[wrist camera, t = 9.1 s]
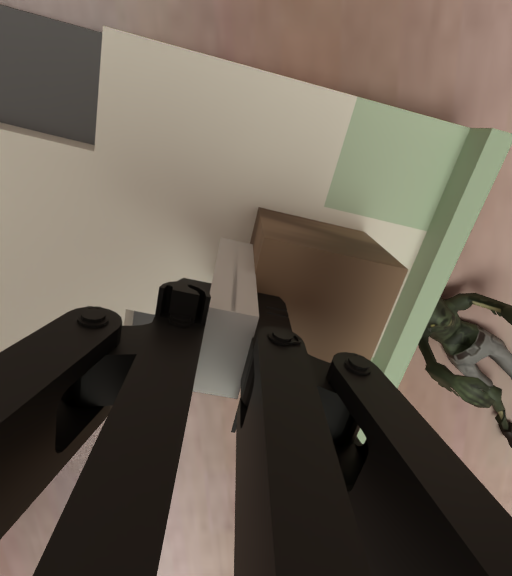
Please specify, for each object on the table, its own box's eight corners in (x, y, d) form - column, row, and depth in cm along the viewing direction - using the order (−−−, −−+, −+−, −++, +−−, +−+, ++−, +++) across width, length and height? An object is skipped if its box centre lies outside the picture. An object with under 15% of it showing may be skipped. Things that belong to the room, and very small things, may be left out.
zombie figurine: (575, 529, 20) (412, 367, 16) (500, 434, 27) (368, 300, 23) (676, 479, 19) (525, 286, 15) (571, 391, 25) (444, 238, 21)
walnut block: (234, 306, 19) (231, 365, 14) (258, 206, 17) (264, 237, 12) (331, 325, 19) (358, 388, 15) (364, 231, 17) (408, 269, 13)
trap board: (-198, 292, 21) (-308, 333, 17) (-286, -71, 15) (-492, -149, 11) (349, 391, 25) (370, 444, 20) (455, 133, 19) (516, 134, 14)
